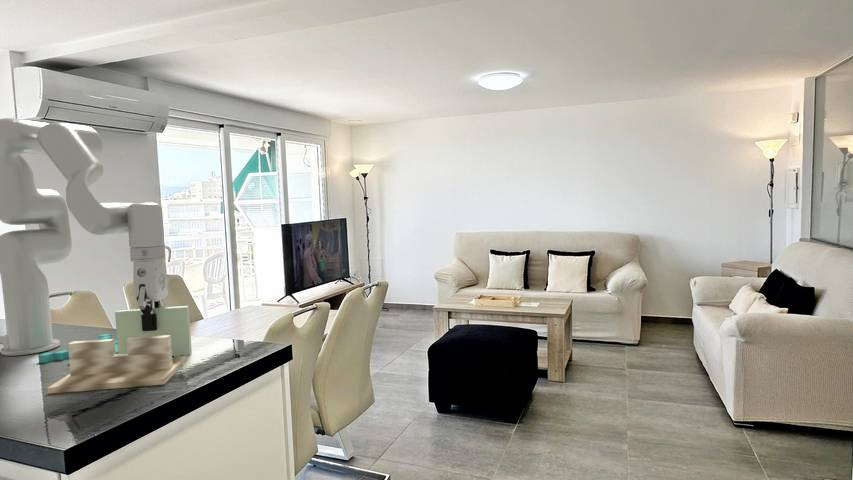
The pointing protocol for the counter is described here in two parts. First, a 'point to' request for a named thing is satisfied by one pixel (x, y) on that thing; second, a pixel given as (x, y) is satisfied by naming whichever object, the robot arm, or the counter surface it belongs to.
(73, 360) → the cross stand
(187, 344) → the slotted plate
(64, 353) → the alien figure
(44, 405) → the counter surface
